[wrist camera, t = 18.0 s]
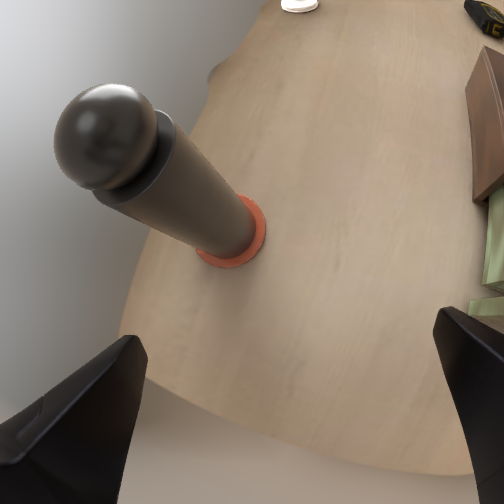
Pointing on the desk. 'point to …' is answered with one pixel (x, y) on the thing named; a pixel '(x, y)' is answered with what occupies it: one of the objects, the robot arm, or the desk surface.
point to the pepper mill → (149, 170)
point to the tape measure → (486, 17)
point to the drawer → (493, 263)
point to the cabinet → (487, 123)
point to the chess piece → (299, 5)
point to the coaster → (252, 248)
